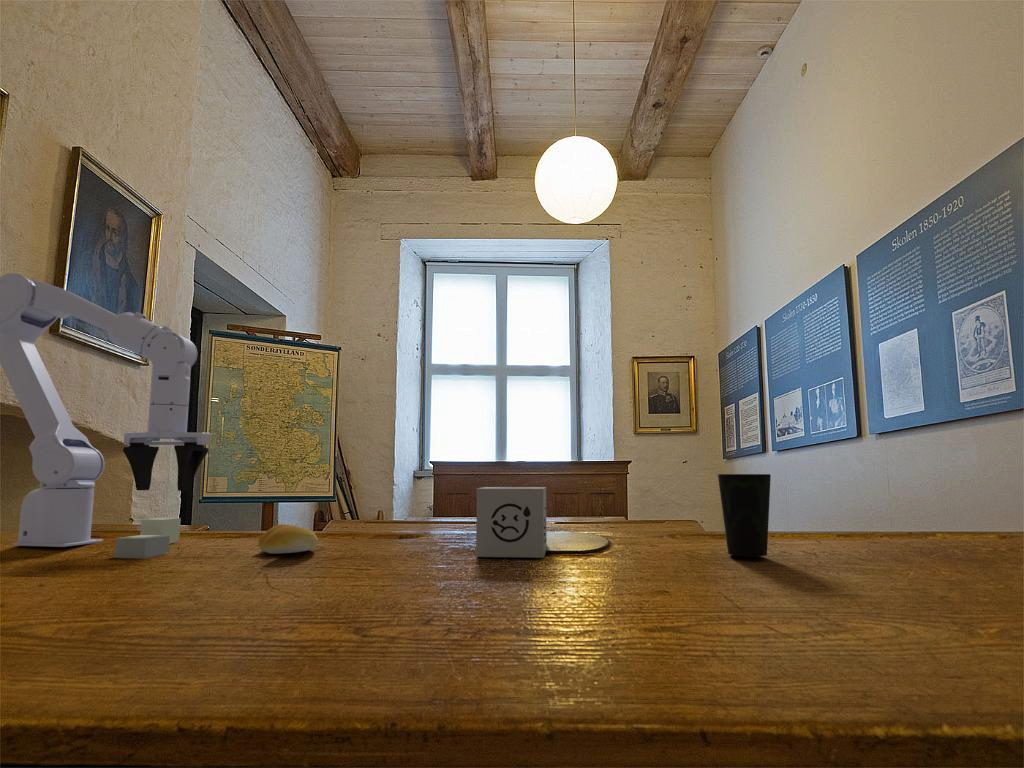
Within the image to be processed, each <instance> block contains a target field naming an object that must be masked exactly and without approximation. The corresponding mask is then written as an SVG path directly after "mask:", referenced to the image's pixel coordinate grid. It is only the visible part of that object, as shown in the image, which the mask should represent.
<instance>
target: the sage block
mask: <svg viewBox="0 0 1024 768" xmlns="http://www.w3.org/2000/svg"><path fill="white" fill-rule="evenodd" d="M181 519H182V518H181V517H153V518H151V517H150V518H142V519H140V532H139V534H140V535H162V536H170V538H169V544H170V543H173V542H176V541H177V540H179V541H180V535H181V521H182V520H181Z"/></svg>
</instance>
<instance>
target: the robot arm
mask: <svg viewBox="0 0 1024 768" xmlns="http://www.w3.org/2000/svg"><path fill="white" fill-rule="evenodd" d="M69 317H74V318H76V319H78V320H81V321H83V322H86V323H88V324H89V325H92V326H94V327H97V328H99V329H102V330H103V331H106V332H107V334H108V338H109V340H110V341H111V343H112V344H114V345H117V346H119V347H122V348H123V349H125V350H128V351H130V352H132V353H134V354H136V355H138V356H141V357H142V358H145V359H147V360H149V361H150V362H151V365H152V366H151V367H152V368H151V369H152V370H151V381H150V382H151V383H150V394H149V395H150V396H149V406H148V420H147V431H145V432H144V431H143V432H129V433H127V432H125V433H124V434H123V436H124V437H123V445H124V446H123V448H122V452H123V453H124V455H125V456H126V458H127V460H128V462H129V464H130V467H131V468H130V469H131V471H132V474H133V475H132V476H133V479H134V484H135V489H136V491H149V490H150V488H151V484H152V483H151V482H152V475H153V474H152V473H153V468H154V463H155V460H156V457H157V454H158V452H159V450H160V449H159V448H160V446H174V447H173V448H174V452H175V455H176V462H177V483H176V484H177V491H178V492H179V491H180V492H184V491H185V492H186V491H189V492H190V491H191V489H192V485H193V482H194V479H195V478H196V477H195V476H196V473H197V471H198V469H199V467H200V465H201V463H202V462H203V460H204V458H205V457H206V456H207V454H208V452H209V447H205V446H210V445H211V432H201V431H200V432H190V431H189V432H188V418H189V406H190V405H189V403H190V393H191V392H190V390H191V375H192V374H191V371H192V367H193V366H194V365H195V363H196V361H197V359H198V349H197V346H196V345H195V343H194V342H193V341H191V340H190V339H189V338H188V337H186V336H183V335H180V334H178V333H176V332H174V331H173V329H172V327H169V326H168V325H163V326H160V325H158V324H156V323H154V322H152V321H150V320H148V319H147V315H145V314H143V313H140V312H139V311H136V312H135V313H133V312H130V311H129V312H128V311H126V312H122V313H120V314H119V313H118V314H115V313H114V312H111V311H109V310H107V309H106V308H104V307H101V306H99V305H97V304H96V303H93V302H91V301H89V300H88V299H85V298H83V297H80V296H79V295H77V294H74V293H73V292H71V291H69V290H66V289H64V288H61V287H58V286H57V285H56V286H55V285H53V284H49V283H46V282H44V281H41V280H37V279H34V278H33V279H32V278H31V279H29V278H27V277H26V276H24V275H22V274H20V273H14V272H10V273H9V272H8V273H5V274H3V275H1V276H0V366H1V369H2V371H3V373H4V374H5V377H6V379H7V381H8V384H9V386H10V388H11V389H12V391H13V394H14V396H15V398H16V400H17V402H18V404H19V406H20V408H21V411H22V413H23V415H24V417H25V418H26V421H27V423H28V425H29V427H30V429H31V432H32V433H33V436H34V439H33V440H32V442H31V443H30V444H29V446H28V449H29V452H30V453H31V457H32V465H31V468H32V473H33V476H34V477H35V479H36V480H37V481H38V482H39V488H36V489H33V490H31V491H30V492H28V493H27V494H26V495H25V496H24V499H22V503H21V507H20V515H19V516H20V517H19V526H18V527H19V528H18V538H17V542H12V546H14V547H18V546H19V547H21V546H22V547H49V548H50V547H54V548H64V547H74V546H80V545H81V546H83V545H89V544H96V543H100V542H103V541H104V539H103V538H92V537H91V535H92V521H93V511H94V498H95V487H96V482H97V480H99V478H100V477H101V476H102V475H103V472H104V471H105V465H106V464H105V463H106V462H105V457H104V456H103V454H102V453H101V451H100V450H98V449H97V448H95V447H94V446H92V444H91V442H90V441H89V439H88V437H87V435H85V434H84V433H83V432H81V431H80V430H79V429H78V428H76V426H74V424H73V421H72V420H71V418H70V415H69V413H68V412H67V410H66V407H65V405H64V403H63V401H62V399H61V396H60V395H59V393H58V391H57V389H56V387H55V385H54V383H53V380H52V379H51V376H50V375H49V372H48V370H47V368H46V366H45V364H44V362H43V360H42V358H41V355H40V354H39V352H38V350H37V349H38V348H36V345H35V343H36V341H37V340H38V339H39V338H40V337H41V336H42V335H43V334H44V333H46V331H47V330H48V329H49V328H50V327H51V326H52V325H53V324H54V323H55V322H56V321H57V320H58V319H61V320H65V319H67V318H69ZM161 440H174V441H161Z"/></svg>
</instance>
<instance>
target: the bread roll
mask: <svg viewBox="0 0 1024 768" xmlns="http://www.w3.org/2000/svg"><path fill="white" fill-rule="evenodd" d="M318 542H319V539H318V536H317V534H316V533H315V531H313V530H311V529H308V528H305V527H299V526H296V525H292V524H284V523H283V524H282V523H281V524H278V525H277V524H276V525H275V526H272V527H270V528H269V529H268V530H266V532H264V533H263V534H262V535H261V536H260V537H259V539H258V542H257V545H258V548H259V549H260V551H261V552H262V551H263V553H268V554H269V555H270V554H271V555H272V554H273V555H274V554H276V555H279V554H291V553H301V552H307V551H312V550H314V549H316V548H317V547H318Z"/></svg>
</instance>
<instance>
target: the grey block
mask: <svg viewBox="0 0 1024 768" xmlns="http://www.w3.org/2000/svg"><path fill="white" fill-rule="evenodd" d="M169 538H170V536H162V535H137V534H136V535H131V536H123V537H116V538H115V545H114V546H115V547H114V558H117V559H150V558H156V556H157V557H160V556H159V555H161V554H164V553H166V552H170V545H169Z"/></svg>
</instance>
